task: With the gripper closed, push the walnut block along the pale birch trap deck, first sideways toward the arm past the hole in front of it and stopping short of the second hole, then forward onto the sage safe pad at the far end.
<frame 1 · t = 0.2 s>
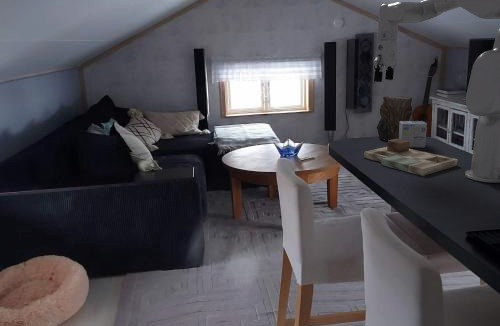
hand: (383, 80, 178), 30 cm above the counter, tool pointing down, fingers open, 9 cm apart
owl: (392, 140, 208), on the counter
walnut block: (397, 150, 178), point 2 cm above the counter, touching trap deck
trap deck: (406, 162, 170), on the counter
light bulb box: (411, 146, 196), on the counter
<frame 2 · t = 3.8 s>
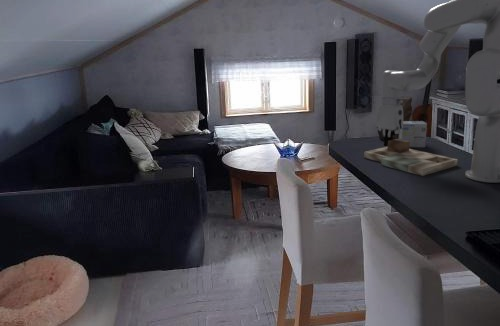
hand: (387, 145, 182), 4 cm above the counter, tool pointing down, fingers closed
walnut block: (398, 150, 178), point 2 cm above the counter, touching gripper, trap deck
everything else where it was.
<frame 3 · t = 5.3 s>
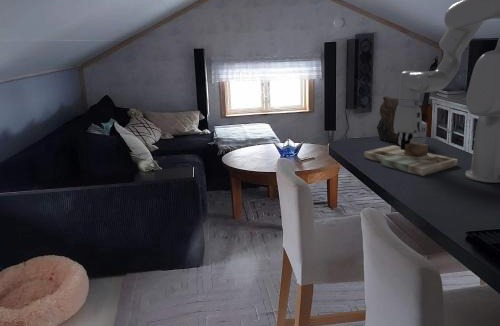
hand: (404, 149, 175), 4 cm above the counter, tool pointing down, fingers closed
walnut block: (415, 154, 171), point 3 cm above the counter, touching gripper
everything else where it was.
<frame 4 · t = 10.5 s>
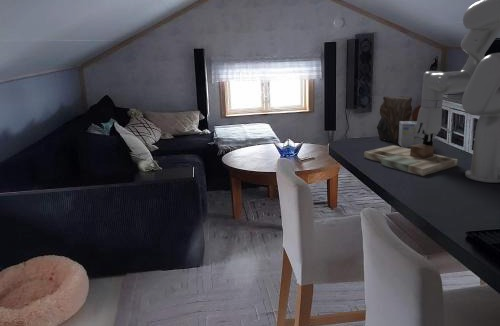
hand: (427, 150, 172), 4 cm above the counter, tool pointing down, fingers closed
walnut block: (421, 156, 169), point 2 cm above the counter, touching gripper, trap deck
everything else where it was.
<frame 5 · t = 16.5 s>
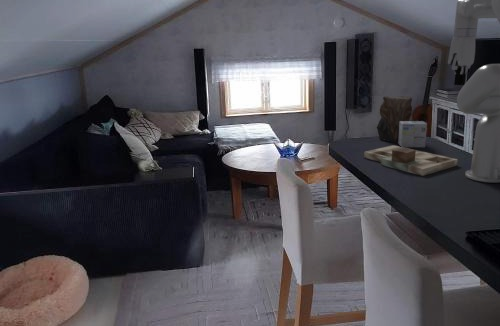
hand: (459, 84, 164), 29 cm above the counter, tool pointing down, fingers closed
walnut block: (403, 160, 163), point 2 cm above the counter, touching trap deck
everything else where it was.
at the end: walnut block inside the target area (1.1 cm from its centre), point 2.5 cm above the counter; walnut block tilted 0°; walnut block touching trap deck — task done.
